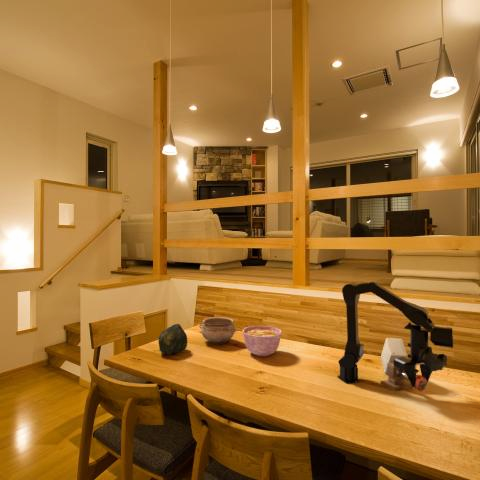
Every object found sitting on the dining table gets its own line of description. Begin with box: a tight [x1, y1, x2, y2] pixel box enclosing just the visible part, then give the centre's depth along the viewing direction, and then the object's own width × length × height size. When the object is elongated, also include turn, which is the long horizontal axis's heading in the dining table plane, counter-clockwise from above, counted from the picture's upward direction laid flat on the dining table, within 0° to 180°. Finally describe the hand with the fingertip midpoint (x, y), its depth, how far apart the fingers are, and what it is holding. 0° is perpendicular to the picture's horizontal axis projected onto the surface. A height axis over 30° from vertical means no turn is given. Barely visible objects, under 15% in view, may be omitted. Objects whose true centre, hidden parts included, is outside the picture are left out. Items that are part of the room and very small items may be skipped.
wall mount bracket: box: [380, 362, 414, 391], centre depth 120 cm, size 10×6×8 cm, turn 108°
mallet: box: [397, 369, 428, 392], centre depth 117 cm, size 5×16×5 cm, turn 18°
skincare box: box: [380, 337, 408, 375], centre depth 128 cm, size 8×7×16 cm
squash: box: [157, 323, 188, 355], centre depth 156 cm, size 14×15×15 cm
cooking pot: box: [198, 316, 239, 345], centre depth 172 cm, size 25×19×12 cm
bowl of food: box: [242, 325, 282, 357], centre depth 154 cm, size 20×20×12 cm
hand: (419, 385), depth 110 cm, fingers closed on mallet, 5 cm apart
